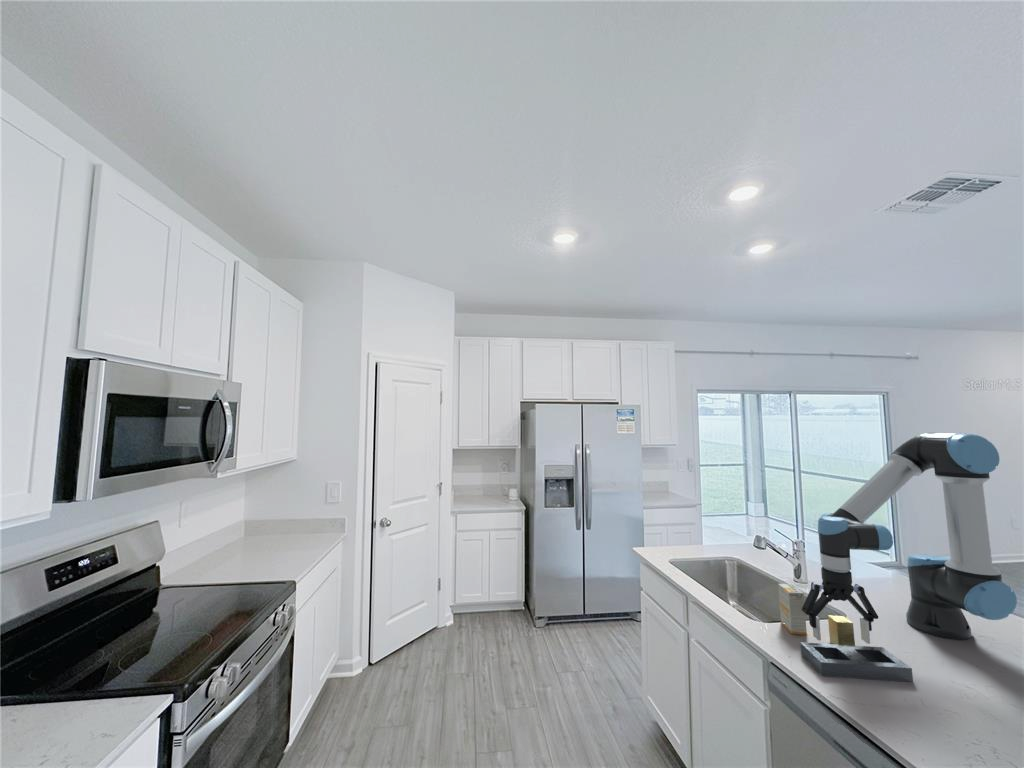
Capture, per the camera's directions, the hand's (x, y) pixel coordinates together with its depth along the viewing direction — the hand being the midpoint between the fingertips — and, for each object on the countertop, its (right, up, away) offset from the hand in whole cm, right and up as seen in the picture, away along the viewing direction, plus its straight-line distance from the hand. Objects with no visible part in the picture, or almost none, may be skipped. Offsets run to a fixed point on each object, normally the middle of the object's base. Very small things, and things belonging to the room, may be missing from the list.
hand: (841, 639), depth 128 cm
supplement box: (-7, -3, +11) cm, 13 cm away
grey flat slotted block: (-6, -1, -11) cm, 13 cm away
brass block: (0, -2, 0) cm, 2 cm away
